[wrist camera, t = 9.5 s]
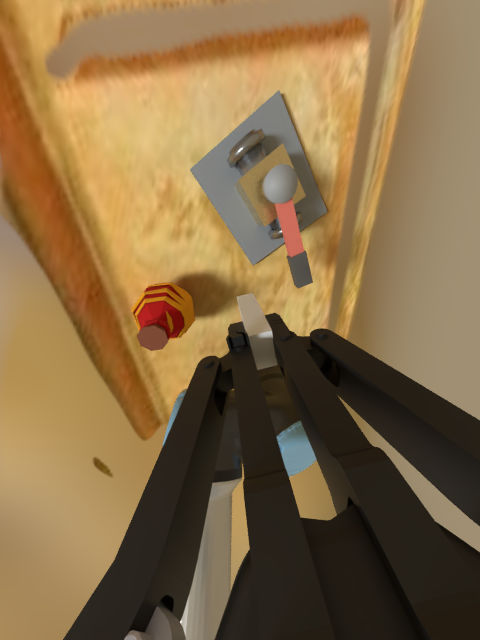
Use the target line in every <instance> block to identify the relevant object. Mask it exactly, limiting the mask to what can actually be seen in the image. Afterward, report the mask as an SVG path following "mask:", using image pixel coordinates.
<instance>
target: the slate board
mask: <svg viewBox="0 0 480 640" xmlns="http://www.w3.org/2000/svg"><path fill="white" fill-rule="evenodd" d="M254 129H255V131H257V130H259V129H262V130H263V132H264V134H265V137H266V138H265V139H264V140H263V142H262V145H263V147H264V149H265V152H266V154H267V156H268V155H269V154H270V153H271V152H273V151H274V150H275V149H276V148H278V147H279V146H280V145H281V144H282V143H283V144H284V147H285V149H286V151H287V153H288V156H289V158H290V160H291V163H292V165H293V167H294V170H295V172H296V174H297V177H298V179H299V181H300V184H301V186H302V188H303V190H304V193H305V195H306V196H305V197H304V198H302V199H301V200H300V201H298V202H297V203H296V204H294V208H295V212H298V211H300V212H301V214H302V217H303V220H302V221H301V222H300V225H299V231H301V230H303V229H304V228H306V227H307V226H308V225H310V224H311V223H313V222H314V221H315V220H317V219H318V218H319V217H321V216H322V215H324V214H325V213H326V212H327V209H326V207H325V204H324V202H323V199H322V197H321V194H320V192H319V189H318V187H317V184H316V182H315V179H314V177H313V174H312V172H311V169H310V167H309V164H308V162H307V159H306V157H305V154H304V152H303V149H302V147H301V144H300V142H299V139H298V137H297V134H296V132H295V129H294V127H293V124H292V122H291V119H290V116H289V114H288V111H287V109H286V106H285V104H284V101H283V99H282V96H281V94H280V91H277V92H276V93H275V94H274V95H273V96H272V97H271V98H270V99H268V100H267V101H266V102H265V103H264V104H263V105H262V106H261V107H259V108H258V109H257V110H256V111H255V112H254V113H253V114H252V115H250V116H249V117H248V118H247V119H246V120H245V121H244V122H243V123H241V124H240V125H239V126H238V127H237V128H236V129H235V130H234V131H232V132H231V133H230V134H229V135H228V136H227V137H226V138H225V139H224V140H222V141H221V142H220V143H219V144H218V145H217V146H216V147H215V148H213V149H212V150H211V151H210V152H209V153H208V154H207V155H206V156H204V157H203V158H202V159H201V160H200V161H199V162H198V163H197V164H195V165H194V166H193V167H192V168H191V169H190V171H191V172H192V174H193V175H194V177H195V178H196V180H197V181H198V183H199V184H200V186H201V187H202V189H203V190H204V192H205V193H206V195H207V196H208V198H209V199H210V201H211V202H212V204H213V205H214V207H215V209H216V210H217V212H218V213H219V215H220V216H221V218H222V219H223V221H224V222H225V224H226V225H227V227H228V228H229V230H230V231H231V233H232V234H233V236H234V237H235V239H236V240H237V242H238V243H239V245H240V247H241V248H242V250H243V251H244V253H245V254H246V256H247V257H248V259H249V260H250V262H251V263H252V265H254V264H256V263H257V262H258V261H260V260H261V259H263V258H264V257H265V256H267V255H268V254H270V253H271V252H272V251H274V250H275V249H276V248H278V247H279V246H281V245H282V244H283V243H285V241H284V237H283V238H280V239H271V238H270V236H269V235H268V232H269V230H270V229H271V228H270V226H269V225H267V226H265V227H264V226H260V225H257V223H256V221H255V220H254V218H253V216H252V215H251V213H250V211H249V209H248V208H247V206H246V204H245V203H244V201H243V199H242V197H241V196H240V194H239V192H238V191H237V189H236V187H235V184H236V183H237V181H238V180H239V179H240V178H241V177H242V176H241V174H240V172H239V170H238V169H237V167H236V166H234V167H233V168H230V166H229V164H228V162H227V159H228V157H229V156H230V154H229V152H230V150H231V149H232V148H233V147H234V146H235V145H236V144H237V143H238V142H239V141H240V140H241V139H242V138H243V137H244V136H245V135H246V134H248V133H249V132H250V131H252V130H254Z"/></svg>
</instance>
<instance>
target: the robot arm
mask: <svg viewBox="0 0 480 640" xmlns="http://www.w3.org/2000/svg"><path fill="white" fill-rule="evenodd" d="M237 301H238V306H239V310H240V314H241V318H242V322H238V323H234V324H230V326H229V328H228V332H229V335H228V336H227V338H226V340H227V344H228V347H229V350H230V351H229V352H228V354H226V355H225V356H223V357H222V358H220V359H219V358H218V357H216V356H208V357H205V358H203V359H202V360H201V361H200V362H199V363H198V365H197V368H196V370H195V372H194V375H193V377H192V379H191V382H190V384H189V386H188V389H185V390H183V391H182V392H181V393H180V394H179V395H178V397H177V399H176V402H175V405H174V407H173V410H172V413H171V416H170V420H169V423H168V427H167V430H166V434H165V437H164V442H163V448H162V450H161V452H160V454H159V457H158V459H157V461H156V464H155V466H154V469H153V471H152V474H151V476H150V478H149V480H148V483H147V485H146V487H145V490H144V492H143V494H142V497H141V499H140V501H139V504H138V506H137V509H136V511H135V513H134V515H133V518H132V520H131V523H130V525H129V527H128V530H127V532H126V534H125V537H124V539H123V541H122V544H121V546H120V548H119V551H118V553H117V555H116V558H115V560H114V562H113V563H112V565H111V566H110V568H109V569H108V571H107V572H106V574H105V576H104V577H103V579H102V580H101V582H100V583H99V585H98V587H97V588H96V590H95V591H94V593H93V594H92V596H91V597H90V599H89V600H88V602H87V603H86V605H85V607H84V608H83V610H82V611H81V613H80V614H79V616H78V617H77V619H76V620H75V622H74V624H73V625H72V627H71V628H70V630H69V631H68V633H67V634H66V636H65V638H64V639H63V640H480V552H478V551H477V550H476V549H474V548H473V547H471V546H470V545H468V544H467V543H466V542H464V541H463V540H461V539H460V538H458V537H457V536H456V535H454V534H453V533H451V532H450V531H448V530H447V529H446V528H444V527H443V526H441V525H440V524H438V523H437V522H435V521H434V519H433V518H432V517H431V515H430V514H429V512H428V511H427V510H426V508H425V507H424V506H423V504H422V503H421V501H420V500H419V498H418V497H417V496H416V494H415V493H414V492H413V490H412V489H411V487H410V486H409V485H408V483H407V482H406V481H405V479H404V478H403V476H402V475H401V473H400V472H399V471H398V469H397V468H396V466H395V465H394V464H393V462H392V461H391V460H390V458H389V457H388V456H387V455H386V453H385V452H384V451H383V450H381V449H380V448H378V447H374V446H372V445H371V444H370V443H369V441H368V440H367V438H366V437H365V435H364V434H363V432H362V431H361V430H360V428H359V427H358V425H357V424H356V422H355V421H354V419H353V418H352V416H351V415H350V413H349V412H348V410H347V409H346V407H345V406H344V404H343V403H342V402H341V400H340V399H339V397H341V398H342V399H343V400H344V401H345V402H346V403H347V404H348V405H349V406H350V407H351V408H352V409H353V410H354V411H355V412H356V413H358V414H359V415H360V416H361V417H362V418H363V419H364V420H365V421H366V422H367V423H368V424H369V425H370V426H371V427H372V428H373V429H375V431H377V432H378V433H379V434H380V435H381V436H382V437H383V438H384V439H385V440H386V441H387V442H388V443H389V444H390V445H391V446H392V447H393V448H395V449H396V450H397V451H398V452H399V453H400V454H401V455H402V456H403V457H404V458H405V459H406V460H407V461H408V462H409V463H410V464H412V465H413V466H414V467H415V468H416V469H417V470H418V471H419V472H420V473H421V474H422V475H423V476H424V477H425V478H427V480H429V481H430V482H431V483H432V484H433V485H434V486H435V487H436V488H437V489H438V490H439V491H440V492H441V493H442V494H443V495H445V496H446V497H447V498H448V499H449V500H450V501H451V502H452V503H453V504H454V505H456V506H457V507H458V508H459V509H460V510H461V511H462V512H463V513H464V514H466V515H467V516H468V517H469V518H470V519H472V520H473V521H474V522H475V523H477V524H478V525H479V526H480V420H478V419H477V418H475V417H473V416H472V415H470V414H468V413H467V412H465V411H463V410H462V409H460V408H458V407H457V406H455V405H453V404H452V403H450V402H448V401H447V400H445V399H443V398H442V397H440V396H438V395H437V394H435V393H433V392H432V391H430V390H428V389H427V388H425V387H424V386H422V385H420V384H419V383H417V382H415V381H413V380H412V379H410V378H408V377H407V376H405V375H404V374H402V373H400V372H399V371H397V370H395V369H394V368H392V367H390V366H388V365H387V364H385V363H384V362H382V361H380V360H379V359H377V358H375V357H374V356H372V355H370V354H369V353H367V352H365V351H364V350H362V349H360V348H359V347H357V346H356V345H354V344H352V343H350V342H349V341H347V340H346V339H344V338H342V337H341V336H339V335H337V334H336V333H334V332H332V331H330V330H328V329H316V330H313V331H312V332H311V333H310V336H305V337H301V336H297V335H296V334H295V333H294V332H292V331H289V329H288V328H287V326H286V324H285V323H284V321H283V320H282V318H281V317H280V315H278V314H276V313H273V314H269V315H265V316H264V314H263V312H262V310H261V308H260V306H259V304H258V302H257V300H256V298H255V296H254V294H253V293H249V294H245V295H241V296H237ZM232 389H234V390H232ZM337 395H338V396H339V397H338V396H337ZM316 460H317V461H318V464H319V466H320V469H321V471H322V473H323V476H324V478H325V480H326V483H327V485H328V488H329V490H330V493H331V496H332V500H333V504H334V507H335V510H336V513H337V516H336V517H334V518H333V519H331V520H328V521H327V520H317V519H308V518H300V515H299V511H298V507H297V504H296V500H295V497H294V494H293V490H292V487H291V483H290V480H289V477H290V476H293V475H295V474H297V473H299V472H301V471H303V470H304V469H306V468H307V467H309V466H310V465H311V464H313V463H314V462H315V461H316ZM242 464H243V467H244V481H243V489H244V500H245V509H246V517H247V527H248V536H249V545H250V550H249V551H248V553H247V554H246V556H245V558H244V560H243V562H242V564H241V566H240V568H239V570H238V573H237V575H236V578H235V581H234V584H233V587H232V590H231V593H230V580H231V579H230V578H231V531H232V530H231V529H232V492H233V490H234V489H235V487H236V486H237V485H238V484H239V482H240V481H241V480H242Z"/></svg>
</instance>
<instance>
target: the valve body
mask: <svg viewBox="0 0 480 640" xmlns="http://www.w3.org/2000/svg"><path fill="white" fill-rule="evenodd" d="M265 138H266V137H265V134H264V132H263V130H262V129H259V130H257V131H255V129H254V130H252V131H250V132H249V133H248V134H246V135H245V136H244V137H243V138H242V139H241V140H240V141H239V142H238V143H237V144H236V145H235V146H234V147H233V148H232V149H231V150H230V152H229V154H230V156H229V157H228V159H227V162H228V164H229V166H230V168H233V167H234V166H236V167H237V169H238V170H239V172H240V174H241V176H242V177H241V178H240V179H239V180H238V181H237V183H236V184H235V187H236V189H237V191H238V192H239V194H240V196H241V197H242V199H243V201H244V203H245V204H246V206H247V208H248V209H249V211H250V213H251V215H252V216H253V218H254V220H255V221H256V223H257V225H260V226H264V227H265V226H267V225H269V226H270V228H271V229H270V230H269V232H268V235H269V236H270V238H271V239H280V238H283V233H282V230H281V226H280V222H279V218H278V215H277V211H276V207H275V204H272V203H270V202H269V201H267V200H266V198H265V197H264V194H263V191H262V183H263V180H264V177H265V175H266V174H267V173H268V172H269V171H270V170H271V169H272V168H274V167H275V166H277V165H279V164H287V165H289V166H291V167H292V168H293V169H294V167H293V165H292V163H291V160H290V158H289V156H288V153H287V151H286V149H285V147H284V144H283V143H282V144H281V145H280V146H279V147H278V148H276V149H275V150H274V151H273V152H271V153H270V154H269V155H268V156H267V154H266V152H265V149H264V147H263V145H262V142H263V140H264V139H265ZM297 179H298V177H297ZM305 196H306V195H305V193H304V190H303V188H302V186H301V184H300V181H299V179H298V186H297V190H296V192H295V194H294V196H293V197H292V199H293V204H296V203H297V202H298V201H300V200H301V199H302V198H304V197H305ZM295 213H296V217H297V222H298V226H299V225H300V222H301V221H302V220H303V217H302V214H301V212H300V211H298V212H295Z"/></svg>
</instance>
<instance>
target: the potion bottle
mask: <svg viewBox="0 0 480 640" xmlns="http://www.w3.org/2000/svg"><path fill="white" fill-rule="evenodd" d="M158 285H159V286H158ZM131 310H132V313H133V316H134V319H135V321H136V324H137V327H138V329H139V330H140V332H139V333H138V335H137V338H138V340H139V343H140V345H141V346H143V347H145V348H147V349H149V350H151V351H153V350H159V349H163V348H164V346H165V345H166V344H167V343H168V340H169V339H175V338H180V337H181V336H182V335H183V334H185V333H186V331H187V330H188V329H189V327H190V326H191V325H192V323H193V322H194V321H195V316H194V309H193V301H192V297H191V296H190V295H189V293H188V292H186V291H185V290H183V289H182V288H180V287H178V286H176V285H175V284H173V283H161V284H155V285H150V286H148V287H147V288H146V290H145V291H144V292H143V294H142V295H141V296H140V298H139V299H138V300H137V302H136V303H135V304H134V306H133V307H132V309H131Z"/></svg>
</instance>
